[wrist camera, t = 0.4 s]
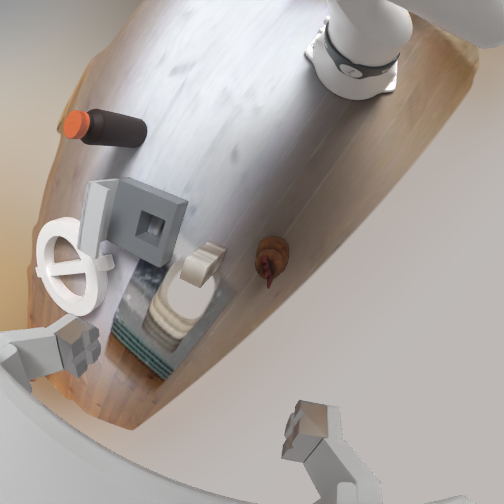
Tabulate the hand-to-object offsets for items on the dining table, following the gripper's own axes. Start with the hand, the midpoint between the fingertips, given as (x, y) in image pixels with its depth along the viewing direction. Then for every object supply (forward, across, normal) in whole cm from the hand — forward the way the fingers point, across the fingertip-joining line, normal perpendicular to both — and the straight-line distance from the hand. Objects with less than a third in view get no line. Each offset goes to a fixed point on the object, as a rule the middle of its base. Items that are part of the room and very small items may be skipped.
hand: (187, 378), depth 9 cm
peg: (+45, +11, +11) cm, 48 cm away
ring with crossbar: (+46, +53, +27) cm, 76 cm away
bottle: (+45, +35, -10) cm, 58 cm away
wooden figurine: (+45, 0, +7) cm, 46 cm away
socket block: (+45, +28, +8) cm, 54 cm away
